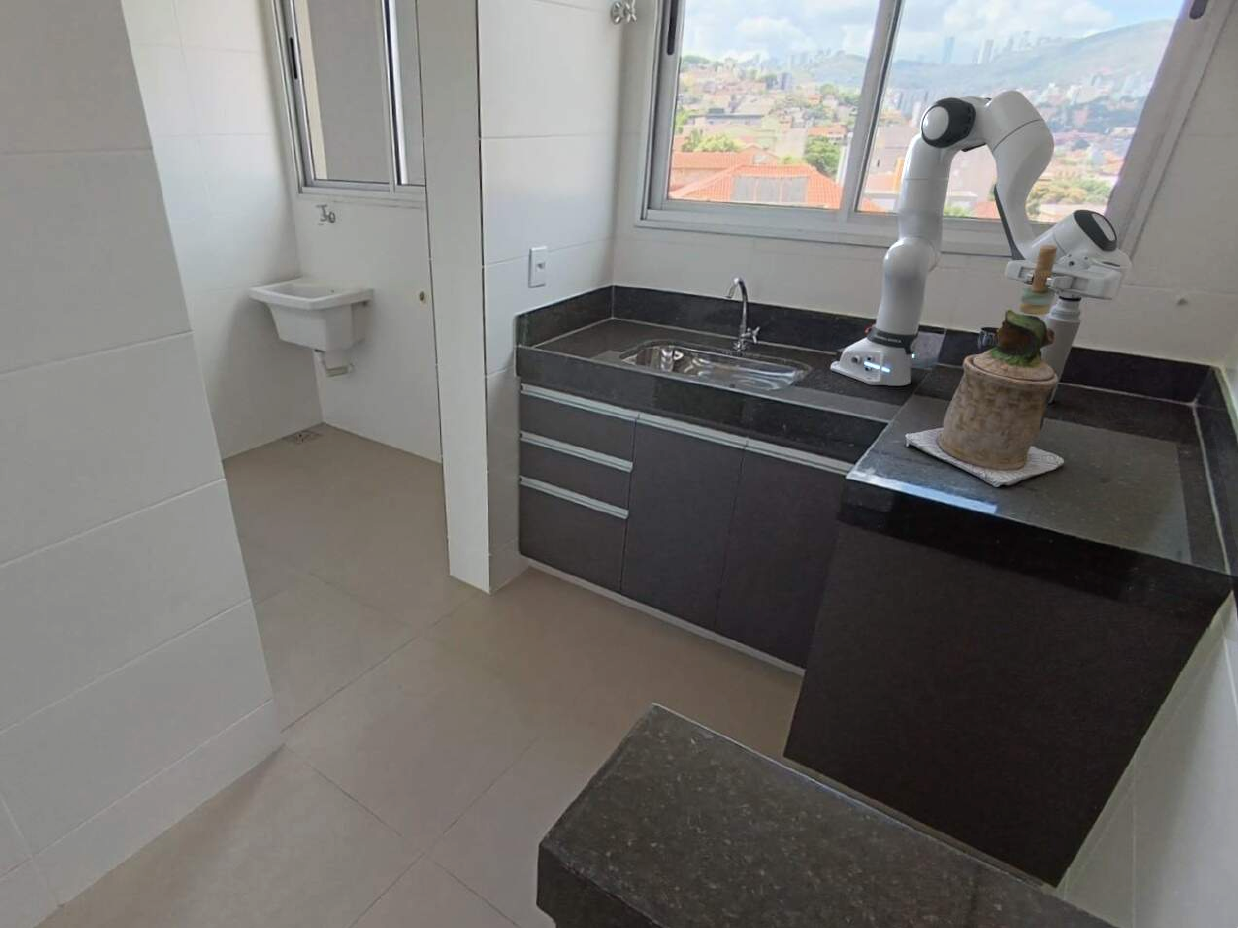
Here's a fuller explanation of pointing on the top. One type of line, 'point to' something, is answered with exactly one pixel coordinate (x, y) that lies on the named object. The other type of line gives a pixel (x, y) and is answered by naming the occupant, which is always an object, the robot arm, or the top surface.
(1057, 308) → the thermos bottle
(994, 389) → the cookie jar
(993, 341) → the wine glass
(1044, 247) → the brush
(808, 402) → the top surface
